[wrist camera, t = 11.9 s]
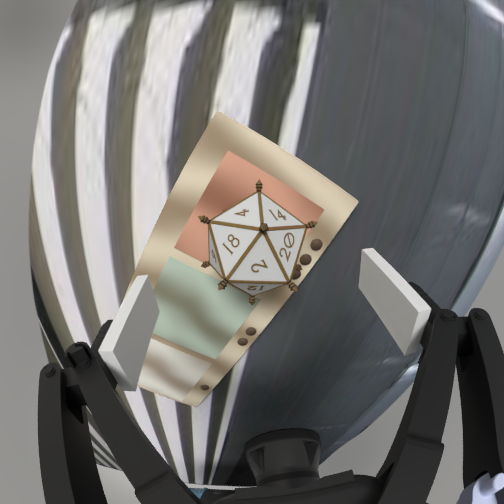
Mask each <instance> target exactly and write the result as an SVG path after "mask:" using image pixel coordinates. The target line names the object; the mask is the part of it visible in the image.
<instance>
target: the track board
mask: <svg viewBox="0 0 504 504" xmlns="http://www.w3.org/2000/svg"><path fill="white" fill-rule="evenodd" d="M259 179H260V181H261V182H262V184H263V185H262V187H263V188H262V189H261V192H262V193H264V194H265V195H267V196H268V197H269V198H271V199H272V200H273V201H275V202H276V203H278V204H279V205H280V206H282V207H283V208H284V209H286V210H287V211H288V212H290V213H291V214H292V215H294V216H295V217H296V218H298V219H299V220H300V221H302V222H303V223H304V224H307V223H308V222H311V221H315V222H318V223H317V224H316V225H315V228H314V227H313V228H312V229H311V228H308V229H307V231H306V234H305V238H304V241H303V244H302V248H301V251H300V255H299V258H298V261H297V264H299V265H301V267H302V270H300V271H298V270H296V269H295V271H294V274H293V277H292V280H291V282H294V283H295V284H296V285H297V287H298V285H299V284H300V283H301V281H302V280H303V279H304V277H305V276H306V275H307V273H308V272H309V271H310V269H311V268H312V267H313V265H314V264H315V263H316V261H317V260H318V259H319V257H320V256H321V255H322V253H323V252H324V250H325V249H326V248H327V246H328V245H329V244H330V242H331V241H332V239H333V238H334V237H335V235H336V234H337V232H338V231H339V230H340V228H341V227H342V225H343V224H344V222H345V221H346V220H347V218H348V217H349V215H350V214H351V212H352V211H353V209H354V208H355V207H356V205H357V204H358V202H359V201H358V200H356V199H355V198H354V197H352V196H351V195H350V194H348V193H347V192H346V191H344V190H343V189H341V188H340V187H339V186H337V185H336V184H335V183H333V182H332V181H330V180H329V179H328V178H326V177H325V176H323V175H322V174H320V173H319V172H317V171H316V170H315V169H313V168H312V167H310V166H309V165H307V164H306V163H304V162H303V161H301V160H300V159H298V158H297V157H295V156H294V155H292V154H290V153H289V152H287V151H286V150H284V149H283V148H281V147H279V146H278V145H276V144H275V143H273V142H271V141H270V140H268V139H266V138H265V137H263V136H261V135H260V134H258V133H256V132H255V131H253V130H251V129H250V128H248V127H246V126H244V125H243V124H241V123H239V122H237V121H235V120H234V119H232V118H230V117H228V116H226V115H225V114H223V113H221V112H219V111H217V112H216V114H215V115H214V117H213V118H212V120H211V122H210V123H209V125H208V127H207V128H206V130H205V132H204V133H203V135H202V137H201V138H200V140H199V142H198V144H197V145H196V147H195V149H194V151H193V152H192V154H191V156H190V158H189V160H188V161H187V163H186V165H185V167H184V169H183V171H182V172H181V174H180V176H179V178H178V180H177V182H176V184H175V186H174V188H173V190H172V192H171V194H170V196H169V198H168V200H167V202H166V204H165V206H164V208H163V210H162V212H161V214H160V216H159V218H158V220H157V222H156V224H155V226H154V229H153V231H152V233H151V235H150V237H149V240H148V242H147V244H146V246H145V249H144V251H143V253H142V255H141V258H140V260H139V263H138V265H137V267H136V270H135V272H134V275H133V277H132V280H131V282H130V285H129V287H128V290H127V292H126V295H127V293H128V291H129V290H130V288H131V286H132V284H133V282H134V281H135V279H136V277H137V276H141V275H148V276H149V279H150V282H151V286H152V289H153V292H154V295H155V298H156V301H157V304H158V308H159V311H160V312H159V315H158V318H157V321H156V324H155V328H154V331H153V334H152V337H151V340H150V343H149V347H148V350H147V353H146V356H145V360H144V363H143V367H142V370H141V374H140V377H139V381H138V384H137V386H139V387H142V388H144V389H146V390H149V391H151V392H154V393H157V394H159V395H162V396H165V397H167V398H170V399H173V400H176V401H178V402H181V403H184V404H187V405H190V406H194V407H197V406H198V405H199V404H200V403H201V402H202V401H203V399H204V398H205V397H206V396H207V395H208V394H209V393H210V392H211V391H212V389H213V388H214V387H215V386H216V385H217V384H218V383H219V382H220V380H221V379H222V378H223V377H224V376H225V375H226V374H227V372H228V371H229V370H230V369H231V368H232V367H233V366H234V364H235V363H236V362H237V361H238V360H239V358H240V357H241V356H242V355H243V354H244V353H245V351H246V350H247V349H248V348H249V347H250V345H251V344H252V343H253V342H254V341H255V339H256V338H257V337H258V336H259V335H260V333H261V332H262V331H263V330H264V328H265V327H266V326H267V325H268V323H269V322H270V321H271V320H272V319H273V317H274V316H275V315H276V314H277V312H278V311H279V310H280V308H281V307H282V306H283V305H284V303H285V302H286V301H287V300H288V298H289V297H290V296H291V294H292V293H293V292H294V291H290V290H291V289H290V288H289V286H288V285H284V286H281V287H279V288H276V289H273V290H270V291H267V292H265V293H262V294H259V295H256V296H255V299H256V300H255V303H254V304H253V305H252V306H251V304H250V303H249V298H250V295H248V294H246V293H244V292H242V291H241V290H239V289H237V288H235V287H233V286H231V285H229V284H228V283H227V287H225V290H224V289H222V290H218V284H219V283H220V281H222V280H223V279H222V278H221V277H220V276H219V274H218V273H217V272H216V271H215V270H214V269H213V268H212V266H211V265H209V267H206V268H203V267H201V265H202V264H203V262H205V261H209V248H208V224H206V223H205V224H203V222H201V221H200V219H199V218H198V216H203V215H204V216H205V217H208V219H209V220H210V219H212V218H213V217H215V216H217V215H218V214H220V213H221V212H223V210H226V209H228V208H230V207H231V206H233V205H234V204H236V203H238V202H239V201H241V200H243V199H244V198H246V197H248V196H249V195H251V194H253V193H254V192H256V191H257V190H256V188H255V187H256V183H257V182H258V180H259ZM126 295H125V297H126ZM125 297H124V299H125ZM123 301H124V300H123Z"/></svg>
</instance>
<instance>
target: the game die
mask: <svg viewBox="0 0 504 504" xmlns="http://www.w3.org/2000/svg"><path fill="white" fill-rule="evenodd" d="M262 185H263V184H262V182H261V181H260V179H259V180H258V182H257V183H256V187H255V188H256V190H257V191H256V192H254V193H253V194H251V195H249V196H248V197H246V198H244V199H243V200H241V201H239V202H238V203H236V204H234V205H233V206H231V207H230V208H228V209H226V210H223V212H221V213H220V214H218V215H217V216H215V217H213V218H212V219H210V220H209V219H208V217H205V216H204V215H203V216H198V218H199V219H200V221H201V222H203V224H205V223H206V224H208V248H209V261H205V262H203V264H202V265H201V267H203V268H206V267H209V265H211V266H212V268H213V269H214V270H215V271H216V272H217V273H218V274H219V276H220V277H221V278H222V279H223V280H222V281H220V283H219V284H218V290H222V289H224V290H225V287H227V283H228V284H229V285H231V286H233V287H235V288H237V289H239V290H241V291H242V292H244V293H246V294H248V295H250V298H249V303H250V304H251V306H252V305H253V304H254V303H255V300H256V299H255V296H256V295H259V294H262V293H265V292H267V291H270V290H273V289H276V288H279V287H281V286H284V285H288V286H289V288H290V289H291V290H290V291H296V292H298V291H297V285H296V284H295V283H294V282H291V280H292V277H293V274H294V271H295V269H296V270H298V271H300V270H302V267H301V265H299V264H297V261H298V258H299V255H300V251H301V248H302V244H303V241H304V238H305V234H306V231H307V229H308V228H311V229H312V228H313V227H314V228H315V225H316V224H317V223H318V222H315V221H311V222H308V223H307V224H304V223H303V222H302V221H300V220H299V219H298V218H296V217H295V216H294V215H292V214H291V213H290V212H288V211H287V210H286V209H284V208H283V207H282V206H280V205H279V204H278V203H276V202H275V201H273V200H272V199H271V198H269V197H268V196H267V195H265V194H264V193H262V192H261V189H262V188H263V187H262Z"/></svg>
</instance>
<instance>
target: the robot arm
mask: <svg viewBox="0 0 504 504" xmlns="http://www.w3.org/2000/svg"><path fill="white" fill-rule="evenodd" d="M359 289H360V290H361V291H362V293H363V294H364V296H365V297H366V298H367V300H368V301H369V303H370V304H371V306H372V307H373V308H374V310H375V311H376V313H377V314H378V316H379V317H380V319H381V320H382V322H383V323H384V325H385V326H386V328H387V329H388V331H389V332H390V334H391V335H392V337H393V338H394V340H395V341H396V343H397V344H398V346H399V348H400V349H401V351H402V352H403V354H404V355H405V356H406V355H409V354H412V353H415V352H417V350H418V347H419V345H420V344H421V345H422V346H423V351H422V353H421V356H420V358H419V361H418V363H419V366H418V370H417V374H416V377H415V381H414V384H413V388H412V391H411V394H410V397H409V401H408V404H407V407H406V410H405V413H404V415H403V418H402V421H401V424H400V427H399V429H398V431H397V434H396V437H395V439H394V441H393V444H392V446H391V449H390V451H389V453H388V455H387V458H386V460H385V462H384V464H383V465H382V467H381V469H380V470H379V472H378V474H377V475H376V477H372V476H367V475H354V474H353V471H352V470H349V471H345V472H341V473H338V474H333V475H329V476H325V477H323V478H321V479H320V478H319V473H318V466H319V460H320V452H321V441H320V437H319V435H318V434H317V433H316V432H314V431H311V430H307V429H285V430H278V431H273V432H269V433H265V434H262V435H260V436H257V437H255V438H253V439H251V440H250V441H249V442H247V443H246V445H245V457H246V460H247V462H248V464H249V466H250V468H251V470H252V472H253V474H254V476H255V478H256V482H257V487H250V488H235V490H216V489H208V488H204V489H200V488H188V487H187V486H186V485H185V483H184V482H183V481H182V480H181V479H180V478H179V477H178V476H177V474H176V473H175V472H174V471H173V470H172V469H171V467H170V466H169V465H168V464H167V463H166V461H165V460H164V459H163V458H162V456H161V455H160V454H159V453H158V451H157V450H156V449H155V447H154V446H153V445H152V444H151V442H150V441H149V439H148V438H147V437H146V435H145V434H144V433H143V431H142V430H141V428H140V427H139V425H138V424H137V423H136V421H135V420H134V418H133V417H132V415H131V414H130V412H129V410H128V409H127V407H126V406H125V404H124V403H123V401H122V399H121V398H120V396H119V394H118V393H117V391H116V390H115V389H116V386H117V384H118V385H119V387H120V388H121V390H122V391H136V388H137V384H138V381H139V377H140V374H141V370H142V367H143V363H144V360H145V356H146V353H147V350H148V347H149V343H150V340H151V337H152V334H153V331H154V328H155V324H156V321H157V318H158V315H159V312H160V311H159V308H158V304H157V301H156V298H155V295H154V292H153V289H152V286H151V282H150V279H149V276H148V275H141V276H137V277H136V279H135V281H134V282H133V284H132V286H131V288H130V290H129V291H128V293H127V295H126V297H125V299H124V301H123V303H122V304H121V306H120V308H119V310H118V312H117V314H116V316H115V318H114V320H108V321H107V322H106V323H104V324H103V325H102V327H101V329H100V331H99V334H97V336H96V339H95V340H94V342H93V344H92V346H91V348H90V347H89V345H88V344H87V343H85V342H77V343H74V344H72V345H71V346H69V348H68V349H67V350H66V352H65V358H66V359H67V361H68V362H69V364H70V365H71V367H70V368H66V369H62V368H61V367H60V365H59V364H58V363H49V364H47V365H46V366H44V367H43V369H42V370H41V372H40V378H39V393H38V394H39V395H38V442H39V443H38V444H39V458H40V468H41V477H42V483H43V489H44V496H45V501H46V504H108V503H107V500H106V497H105V494H104V491H103V487H102V484H101V481H100V477H99V473H98V469H97V465H96V461H95V457H94V452H93V447H92V443H91V437H90V432H89V426H88V420H87V413H86V406H85V405H88V407H89V409H90V411H91V413H92V416H93V418H94V420H95V422H96V424H97V426H98V428H99V430H100V432H101V434H102V436H103V437H104V439H105V441H106V443H107V445H108V447H109V448H110V450H111V452H112V454H113V455H114V457H115V459H116V460H117V462H118V464H119V465H120V467H121V469H122V470H123V472H124V473H125V475H126V476H127V478H128V479H129V481H130V482H131V484H132V485H133V487H134V488H135V495H136V497H137V498H138V500H139V501H140V503H141V504H428V503H426V500H427V497H428V495H429V492H430V490H431V487H432V484H433V481H434V479H435V476H436V473H437V470H438V467H439V464H440V461H441V457H442V454H443V450H444V444H443V443H441V440H442V435H443V431H444V427H445V423H446V419H447V414H448V409H449V404H450V399H451V393H452V387H453V381H454V373H455V365H456V368H457V375H458V382H459V390H460V398H461V408H462V424H463V484H464V490H463V491H462V493H461V495H460V498H459V500H458V502H457V504H504V353H503V350H502V347H501V344H500V341H499V339H498V336H497V333H496V331H495V328H494V325H493V323H492V320H491V318H490V316H489V314H488V313H487V312H486V311H485V310H483V309H480V308H473V309H471V311H470V312H469V315H468V317H458V316H457V315H456V313H454V312H453V311H451V310H448V309H440V307H439V306H438V305H437V304H436V303H435V302H434V301H433V300H432V299H431V298H430V297H429V296H428V295H427V294H426V293H425V292H424V291H423V290H422V289H421V287H420V286H418V285H416V284H415V283H413V282H409V283H407V282H406V281H405V280H404V279H403V278H402V277H401V276H400V275H399V274H398V272H397V271H396V270H395V269H394V268H393V267H392V266H391V265H390V264H389V263H388V262H387V261H386V260H385V259H384V258H382V257H381V256H380V255H379V254H378V253H377V252H376V251H375V250H374V249H373V248H368V249H362V256H361V267H360V278H359Z"/></svg>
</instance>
